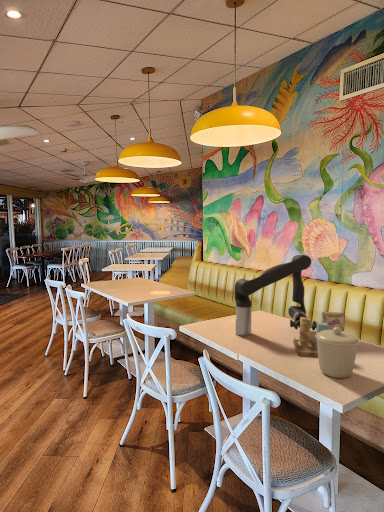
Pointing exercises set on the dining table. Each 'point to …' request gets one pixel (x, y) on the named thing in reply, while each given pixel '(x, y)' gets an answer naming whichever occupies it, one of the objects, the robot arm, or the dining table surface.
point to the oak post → (304, 330)
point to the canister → (336, 352)
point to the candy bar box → (334, 320)
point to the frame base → (312, 348)
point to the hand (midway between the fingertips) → (305, 328)
